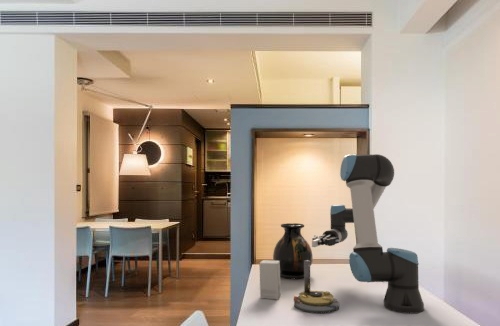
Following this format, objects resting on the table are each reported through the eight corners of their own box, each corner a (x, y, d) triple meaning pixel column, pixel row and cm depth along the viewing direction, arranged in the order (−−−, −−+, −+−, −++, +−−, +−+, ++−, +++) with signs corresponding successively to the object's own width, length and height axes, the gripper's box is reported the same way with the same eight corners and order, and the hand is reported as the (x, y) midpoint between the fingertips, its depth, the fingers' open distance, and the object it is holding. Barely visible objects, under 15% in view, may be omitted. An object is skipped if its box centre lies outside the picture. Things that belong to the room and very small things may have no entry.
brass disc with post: (340, 302, 150) (340, 264, 151) (313, 307, 144) (312, 268, 144) (318, 293, 163) (318, 258, 164) (291, 297, 156) (291, 261, 157)
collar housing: (348, 308, 150) (348, 295, 150) (314, 316, 140) (314, 302, 141) (317, 296, 165) (317, 284, 166) (284, 303, 156) (284, 290, 156)
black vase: (304, 283, 188) (303, 227, 189) (266, 278, 198) (266, 225, 200) (318, 274, 206) (318, 223, 208) (283, 270, 217) (283, 221, 219)
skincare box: (280, 295, 167) (280, 260, 168) (278, 300, 161) (277, 263, 162) (262, 294, 169) (262, 259, 170) (259, 298, 163) (259, 262, 164)
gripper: (344, 246, 182) (327, 254, 162) (319, 243, 189) (300, 251, 169) (344, 230, 183) (327, 236, 163) (319, 228, 189) (299, 234, 169)
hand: (313, 244), depth 166 cm, fingers closed
